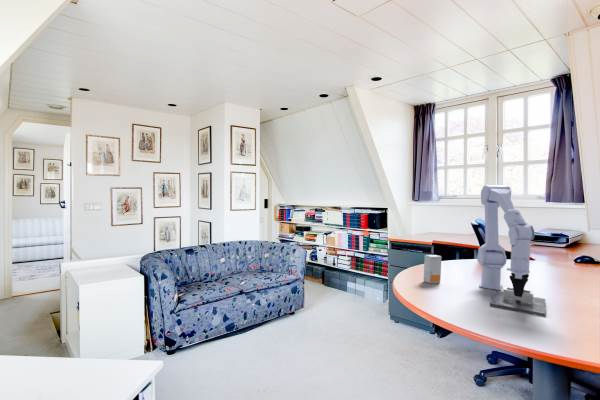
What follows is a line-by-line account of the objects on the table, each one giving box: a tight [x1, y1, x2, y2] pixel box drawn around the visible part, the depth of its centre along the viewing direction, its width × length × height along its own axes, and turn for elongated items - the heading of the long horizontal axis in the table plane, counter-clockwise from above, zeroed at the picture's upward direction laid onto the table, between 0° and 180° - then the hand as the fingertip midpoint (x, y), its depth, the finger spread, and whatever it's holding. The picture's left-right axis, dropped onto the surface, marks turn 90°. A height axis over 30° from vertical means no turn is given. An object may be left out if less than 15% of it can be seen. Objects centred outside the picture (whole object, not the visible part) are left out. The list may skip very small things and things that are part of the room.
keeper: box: [489, 290, 547, 318], centre depth 122 cm, size 20×16×5 cm
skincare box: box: [423, 254, 443, 284], centre depth 149 cm, size 6×4×12 cm
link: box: [502, 286, 534, 303], centre depth 122 cm, size 9×5×3 cm, turn 54°
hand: (518, 294), depth 122 cm, fingers closed on link, 5 cm apart
